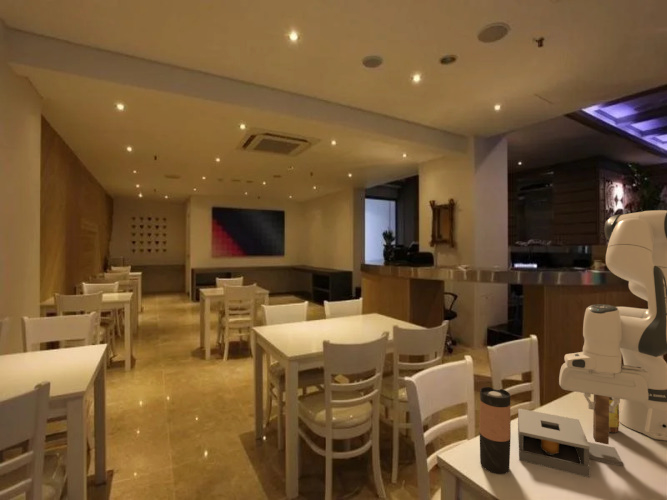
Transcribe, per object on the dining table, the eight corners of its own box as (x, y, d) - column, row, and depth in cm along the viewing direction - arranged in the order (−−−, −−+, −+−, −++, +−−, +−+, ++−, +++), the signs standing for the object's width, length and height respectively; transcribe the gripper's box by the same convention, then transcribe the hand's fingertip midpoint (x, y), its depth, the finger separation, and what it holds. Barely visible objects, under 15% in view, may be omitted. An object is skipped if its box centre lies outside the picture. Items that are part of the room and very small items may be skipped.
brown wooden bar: (606, 439, 100) (606, 383, 101) (608, 444, 98) (609, 387, 98) (593, 436, 102) (593, 381, 102) (595, 441, 99) (596, 385, 99)
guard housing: (578, 446, 104) (578, 419, 104) (589, 477, 90) (589, 446, 90) (518, 433, 111) (518, 408, 111) (519, 460, 97) (519, 431, 97)
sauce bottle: (623, 434, 111) (624, 372, 111) (601, 432, 112) (601, 370, 112) (611, 424, 117) (612, 365, 117) (590, 422, 119) (591, 364, 119)
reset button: (558, 447, 102) (558, 438, 102) (560, 455, 98) (560, 446, 98) (540, 443, 104) (540, 434, 104) (541, 450, 100) (541, 442, 100)
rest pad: (614, 450, 102) (614, 447, 102) (622, 466, 95) (622, 462, 95) (581, 443, 106) (581, 440, 106) (586, 457, 98) (586, 454, 98)
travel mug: (493, 477, 90) (493, 399, 90) (473, 460, 97) (473, 388, 97) (517, 472, 92) (517, 396, 92) (495, 455, 99) (496, 385, 99)
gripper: (644, 364, 98) (644, 414, 98) (558, 354, 107) (558, 399, 107) (652, 371, 93) (652, 423, 92) (561, 359, 102) (560, 407, 102)
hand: (600, 410), depth 100 cm, fingers closed on brown wooden bar, 3 cm apart
